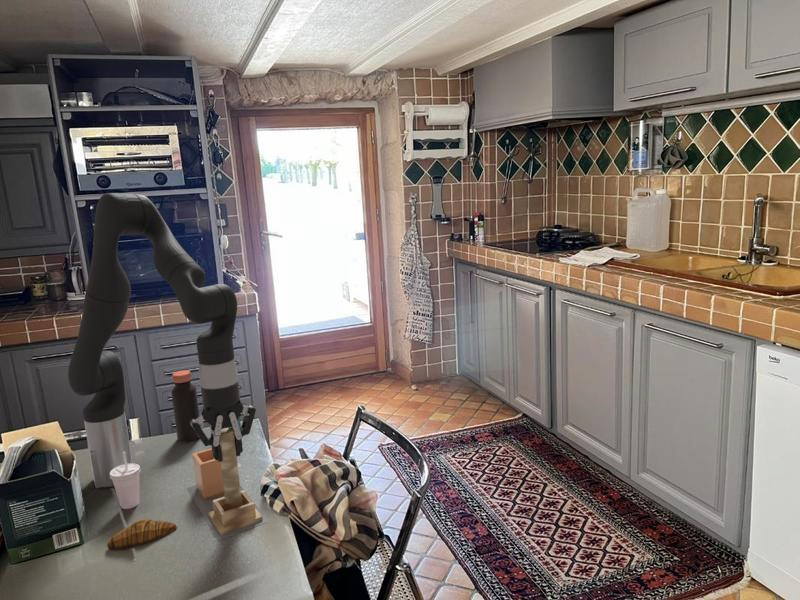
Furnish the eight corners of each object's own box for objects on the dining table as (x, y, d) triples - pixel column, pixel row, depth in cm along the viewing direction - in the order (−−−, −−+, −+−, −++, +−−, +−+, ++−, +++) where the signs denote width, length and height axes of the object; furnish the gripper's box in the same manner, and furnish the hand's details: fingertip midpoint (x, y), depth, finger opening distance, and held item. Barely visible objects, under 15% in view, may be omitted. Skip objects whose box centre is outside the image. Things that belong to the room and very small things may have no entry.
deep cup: (204, 500, 134) (200, 464, 132) (196, 488, 139) (192, 453, 138) (234, 490, 137) (230, 455, 136) (225, 479, 143) (221, 445, 141)
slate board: (218, 544, 118) (218, 540, 118) (187, 492, 140) (186, 488, 140) (269, 525, 124) (269, 521, 124) (232, 477, 146) (231, 474, 145)
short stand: (220, 535, 120) (218, 518, 119) (208, 515, 127) (206, 500, 127) (262, 519, 125) (260, 503, 124) (248, 501, 132) (246, 486, 131)
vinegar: (206, 435, 172) (198, 371, 168) (187, 444, 166) (179, 378, 162) (191, 431, 175) (183, 368, 171) (172, 439, 170) (163, 375, 166)
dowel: (228, 506, 123) (219, 436, 120) (223, 499, 126) (215, 430, 122) (243, 500, 125) (235, 431, 121) (238, 494, 128) (230, 426, 124)
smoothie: (134, 516, 130) (125, 459, 127) (109, 514, 132) (99, 458, 129) (151, 501, 136) (143, 446, 134) (127, 499, 138) (118, 445, 135)
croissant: (106, 560, 116) (103, 538, 115) (109, 542, 122) (105, 520, 121) (178, 542, 121) (175, 520, 120) (177, 525, 127) (174, 504, 126)
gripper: (246, 369, 127) (254, 442, 130) (179, 384, 119) (189, 461, 123) (258, 377, 120) (266, 454, 124) (188, 394, 113) (199, 474, 116)
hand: (228, 457), depth 123 cm, fingers closed on dowel, 3 cm apart
